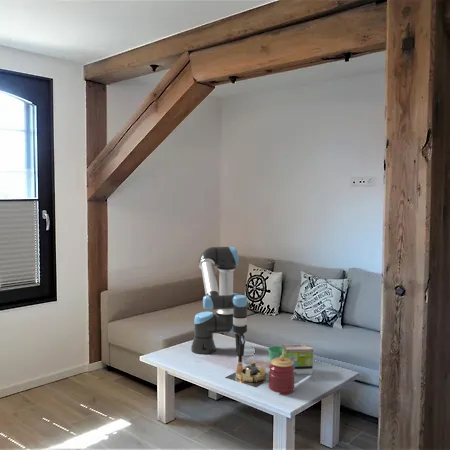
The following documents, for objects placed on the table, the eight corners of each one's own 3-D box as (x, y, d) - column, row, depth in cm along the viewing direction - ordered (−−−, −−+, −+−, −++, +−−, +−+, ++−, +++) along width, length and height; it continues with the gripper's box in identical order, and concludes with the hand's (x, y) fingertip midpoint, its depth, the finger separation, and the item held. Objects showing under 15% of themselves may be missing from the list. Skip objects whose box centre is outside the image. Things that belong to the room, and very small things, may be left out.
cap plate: (224, 379, 258) (224, 368, 257) (246, 368, 274) (246, 357, 273) (256, 389, 246) (256, 377, 245) (276, 377, 262) (277, 366, 261)
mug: (278, 370, 271) (278, 353, 270) (264, 366, 277) (264, 349, 277) (293, 364, 281) (294, 347, 280) (280, 359, 288) (280, 343, 287)
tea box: (286, 376, 263) (286, 349, 262) (281, 369, 273) (281, 343, 271) (312, 375, 265) (313, 348, 264) (306, 368, 275) (307, 342, 274)
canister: (296, 394, 240) (297, 360, 239) (271, 395, 239) (271, 360, 238) (291, 383, 253) (292, 350, 252) (266, 384, 252) (267, 351, 251)
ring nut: (233, 379, 254) (233, 369, 254) (240, 368, 269) (240, 359, 269) (262, 383, 250) (262, 373, 250) (268, 372, 265) (268, 362, 264)
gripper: (249, 327, 254) (249, 370, 257) (243, 320, 267) (243, 361, 269) (236, 328, 253) (235, 372, 255) (230, 321, 265) (230, 362, 268)
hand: (239, 366), depth 262 cm, fingers closed
